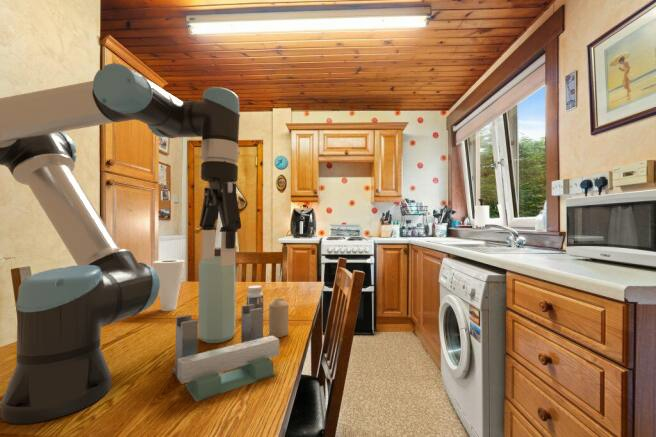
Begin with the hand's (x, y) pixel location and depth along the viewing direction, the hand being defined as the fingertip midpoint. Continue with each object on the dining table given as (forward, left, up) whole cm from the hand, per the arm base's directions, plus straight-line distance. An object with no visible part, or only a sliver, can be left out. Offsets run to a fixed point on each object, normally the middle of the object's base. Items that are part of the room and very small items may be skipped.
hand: (217, 261), depth 67 cm
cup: (+3, +62, -24) cm, 66 cm away
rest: (+1, -5, -24) cm, 24 cm away
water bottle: (+7, +21, -24) cm, 33 cm away
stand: (+2, +4, -24) cm, 24 cm away
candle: (+22, +13, -24) cm, 35 cm away
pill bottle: (+25, +35, -24) cm, 49 cm away
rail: (+1, -5, -21) cm, 21 cm away
